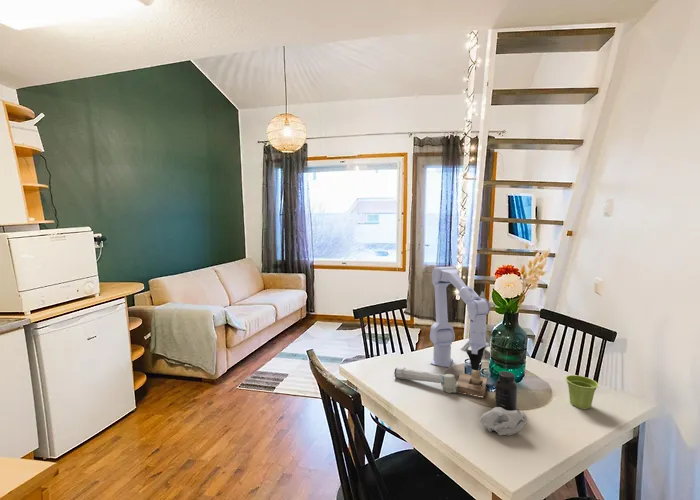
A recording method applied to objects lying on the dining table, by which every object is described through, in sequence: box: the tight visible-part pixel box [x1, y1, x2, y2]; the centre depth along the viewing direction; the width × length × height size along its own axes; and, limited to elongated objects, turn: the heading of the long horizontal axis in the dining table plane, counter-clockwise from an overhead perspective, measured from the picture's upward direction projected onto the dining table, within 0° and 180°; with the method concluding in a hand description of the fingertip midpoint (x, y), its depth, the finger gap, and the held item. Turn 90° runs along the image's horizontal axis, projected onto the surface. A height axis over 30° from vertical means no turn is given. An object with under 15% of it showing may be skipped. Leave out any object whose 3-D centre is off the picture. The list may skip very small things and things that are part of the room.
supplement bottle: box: [494, 370, 518, 411], centre depth 118 cm, size 7×7×12 cm
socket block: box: [456, 372, 488, 398], centre depth 132 cm, size 12×10×2 cm
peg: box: [470, 369, 482, 386], centre depth 131 cm, size 3×3×7 cm
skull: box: [479, 406, 528, 437], centre depth 105 cm, size 8×9×12 cm
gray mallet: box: [394, 367, 459, 394], centre depth 134 cm, size 5×7×25 cm
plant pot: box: [565, 374, 599, 410], centre depth 120 cm, size 9×9×9 cm
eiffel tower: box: [460, 291, 491, 360], centre depth 167 cm, size 13×13×30 cm
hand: (476, 365), depth 130 cm, fingers open, 7 cm apart
